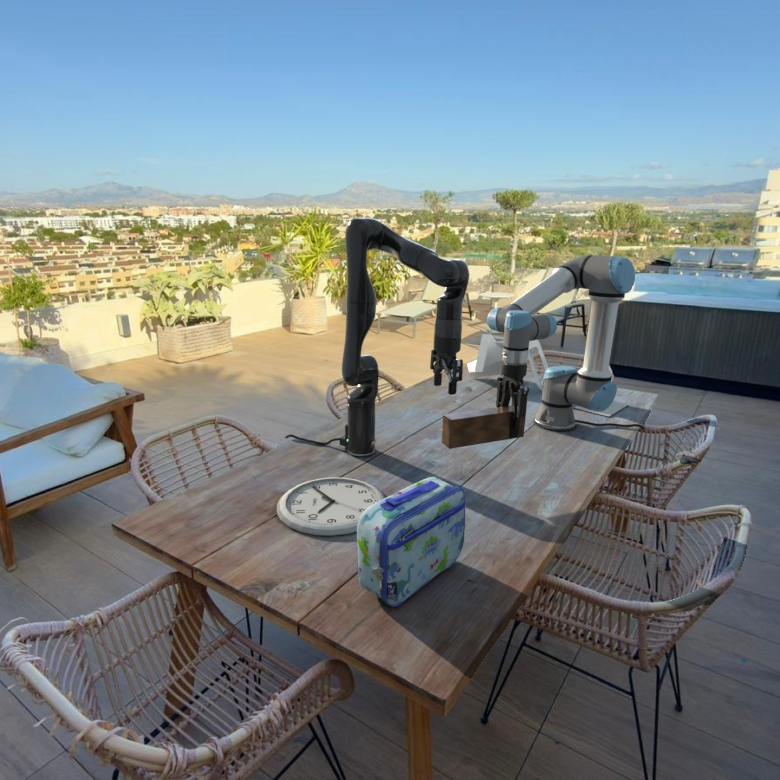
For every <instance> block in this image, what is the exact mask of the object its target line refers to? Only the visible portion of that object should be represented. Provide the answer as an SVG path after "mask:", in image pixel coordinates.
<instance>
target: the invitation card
mask: <svg viewBox="0 0 780 780" xmlns="http://www.w3.org/2000/svg"><path fill="white" fill-rule="evenodd" d="M628 406H629V404H627V403H623V402H618V401H614V400H613V402H612V403H611V405H610V406H609V407H608V408H607V409H606V410H604V411H600V412H599V411H594V410H589V409H587V408H584V407H580V406H577V405H575V406H574V407H573V409H575V410H581V411H584V412H587V413H593V414H596V415H600V416H604V417H608V418H609V417H611V416H613V415H614V414H616V413H617V412H619V411H621V410H623V409H624V408H626V407H628Z"/></svg>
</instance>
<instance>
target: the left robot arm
mask: <svg viewBox="0 0 780 780" xmlns="http://www.w3.org/2000/svg"><path fill="white" fill-rule="evenodd" d="M345 227H346V228H345V235H344V239H345V240H344V245H345V257H346V296H345V297H346V299H345V331H344V332H345V333H344V335H345V336H344V345H343V351H342V359H341V376H342V380H343V381H344V383H345V385H347V386H349V387H355V388H354V389H353V390H352V391H351V392H350V393H348V395H347V398H346V404H347V405H346V408H347V409H346V410H347V412H346V413H347V423H346V424H345V425H344V435H342V436H340V437H335V438H332V439H329V440H328V441H326V442H325V441H323V442H321V441H316V440H311V439H308V438H305V437H300V436H297V435H294V434H287V435H286V436H285V437H284V438H285V439H288V438H294V439H296V440H299V441H304V442H307V443H310V444H314V445H315V444H316V445H320V446H326V445H327V446H328V445H329V444H331V443H332V442H336V441H339V446H342V447H344V450H345V451H344V452H347V453H348V454H349V455H350V456H353V457H358V458H359V457H360V458H364V457H369V456H372V455H374V454H375V453H376V443H377V438H376V399H377V397H378V393H379V392H378V391H379V377H380V371H379V364H378V361H377V359H376V357H374V356H373V355H371V354H362V349H363V344H364V342H365V339H366V337H367V335H368V333H369V332H370V330H371V328H372V327H373V324H374V321H375V319H376V314H377V293H376V289H375V287H374V284H373V282H372V280H371V277H370V274H369V271H368V251H374V250H376V251H380V252H385V253H387V254H390V255H392V256H393V257H394V258H395V259H397V261H398V262H399V263H400V264H401V265H403V266H404V267H406V268H408V269H410V270H412V271H414V272H416V273H419V274H421V275H422V276H424V277H425V278H426V279H427V280H429V281H430V282H431V283H433V284H434V285H436V286H438V287H442V288H444V290H443V293H442V294H441V295H440V296H439V297H437V299H436V304H435V305H436V308H435V320H434V331H433V333H434V334H433V349H431V351H430V361H429V363H430V364H429V368H430V370H432V373H433V386H435V387H440V386H442V382H443V379H442V378H443V371H444V373H445V375H446V376H447V378H448V387H447V388H448V389H447V393H448V395H450V396H452V395H456V394H457V388H458V386H457V385H458V382H462V381H463V370H464V368H463V367H464V361H463V359H460V358H459V359H458V358H457V354H458V353H459V352H460V351H461V350H462V349H461V348H462V333H463V321H462V318H463V317H462V316H463V301H464V299H465V296H466V292H467V289H468V286H469V281H470V270H469V267H468V265H467V263H466V262H465V261H464V260H462V259H459V258H458V259H457V258H455V259H445V258H442V257H440V256H439V254H438V253H437V252H436V251H435V250H432V249H431V248H428V247H426V246H423V245H422V244H419V243H417V242H414V241H413V240H411V239H408V238H406V237H405V236H403V235H401V234H399V233H398V232H396V231H394V230H393V229H392V228H390V227H389V226H387V225H386V224H384V223H383V222H382V221H380V220H379V219H376V218H373V217H354V218H352V219H351V220H350V221H348V223H347V225H346V226H345ZM299 437H300V438H299Z"/></svg>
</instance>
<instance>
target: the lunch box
mask: <svg viewBox="0 0 780 780" xmlns="http://www.w3.org/2000/svg"><path fill="white" fill-rule="evenodd" d="M465 528H466V494H465V490H464V489H463V487H461V486H458V485H456V486H454V485H451V484H450V483H448V482H446V481H444V480H442V479H440V478H438V477H436V476H430V477H426V478H424V479H421V480H420V481H417V482H415V483H413V484H411V485H409V486H407V487H405V488H402V489H401V490H399V491H396V492H395V493H393V494H390V495H389V496H387V497H385V499H383V500H381V501H379V502H377V503H375V504H373V505H371V506H369V507H368V508H367V509H366V510H365V511H364V512H363V513H362V515H361V517H360V519H359V522H358V526H357V532H356V549H357V550H356V551H357V552H356V553H357V577H358V583H359V585H360V587H361V588H362V589H364V590H366V591H368V592H370V593H372V594H374V595H375V596H377V598H379V599H381V600H382V602H383V603H384V604H385V605H387V606H390V607H393V608H394V607H398V606H400V605H402V604H403V603H404V602H405V601H406V600H408V599H409V598H410V597H411V596H412V595H414V594H416V592H418V591H419V590H420V589H422V588H423V587H424V586H426V585H427V584H428V583H430V582H431V581H432V579H434V578H435V577H436V576H438V575H439V574H440V573H442V572H444V571H446V570H447V569H449V568H450V567H451V566H452V565H454V563H456V561H457V560H458V558H459V557H460V555H461V553H462V550H463V547H464V542H465V530H466V529H465Z"/></svg>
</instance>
